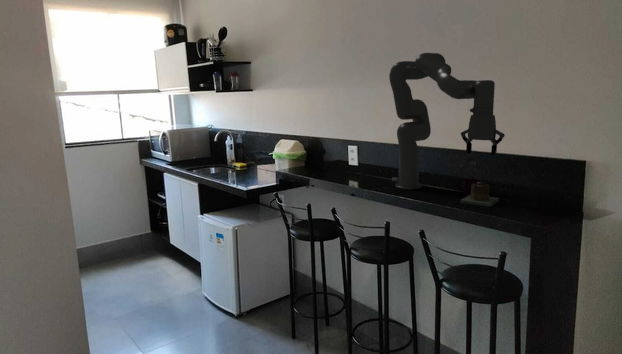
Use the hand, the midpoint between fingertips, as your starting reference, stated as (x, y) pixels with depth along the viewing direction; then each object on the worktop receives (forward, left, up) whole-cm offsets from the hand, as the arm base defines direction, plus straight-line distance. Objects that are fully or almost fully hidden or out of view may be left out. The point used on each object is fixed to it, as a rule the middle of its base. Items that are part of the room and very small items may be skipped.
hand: (481, 153), depth 180 cm
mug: (-8, +11, -21) cm, 25 cm away
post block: (0, 0, -20) cm, 20 cm away
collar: (0, 0, -19) cm, 19 cm away
